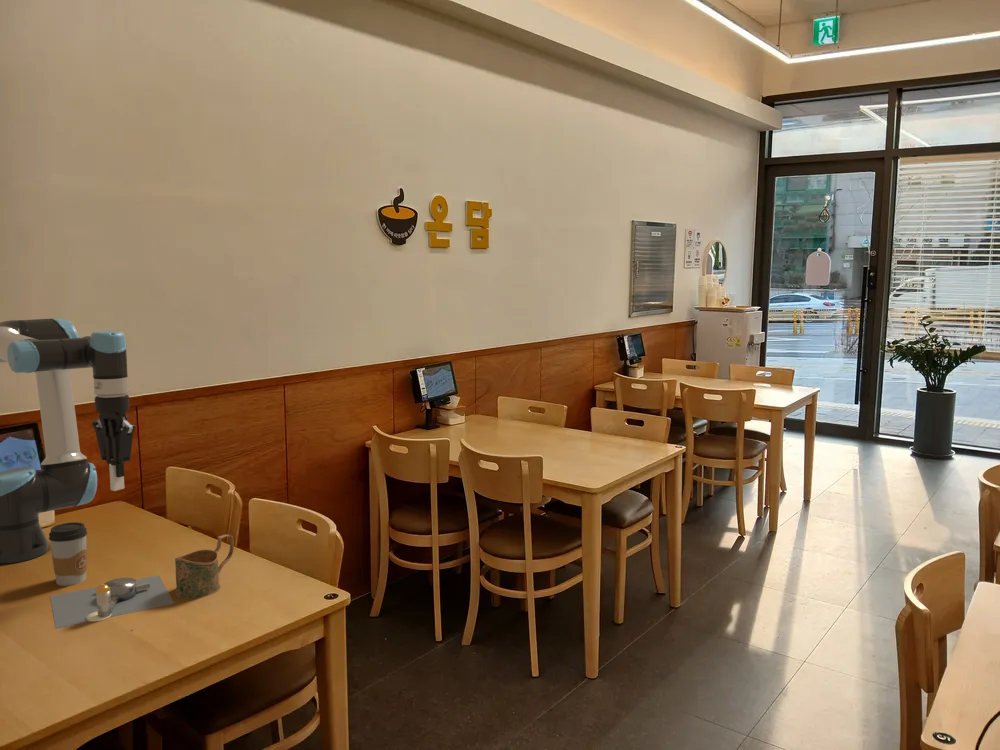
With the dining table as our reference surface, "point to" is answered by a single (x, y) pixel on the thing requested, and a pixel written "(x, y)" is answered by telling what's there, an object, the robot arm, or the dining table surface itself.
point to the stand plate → (84, 608)
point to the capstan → (116, 593)
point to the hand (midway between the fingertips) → (117, 489)
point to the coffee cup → (69, 552)
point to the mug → (200, 571)
